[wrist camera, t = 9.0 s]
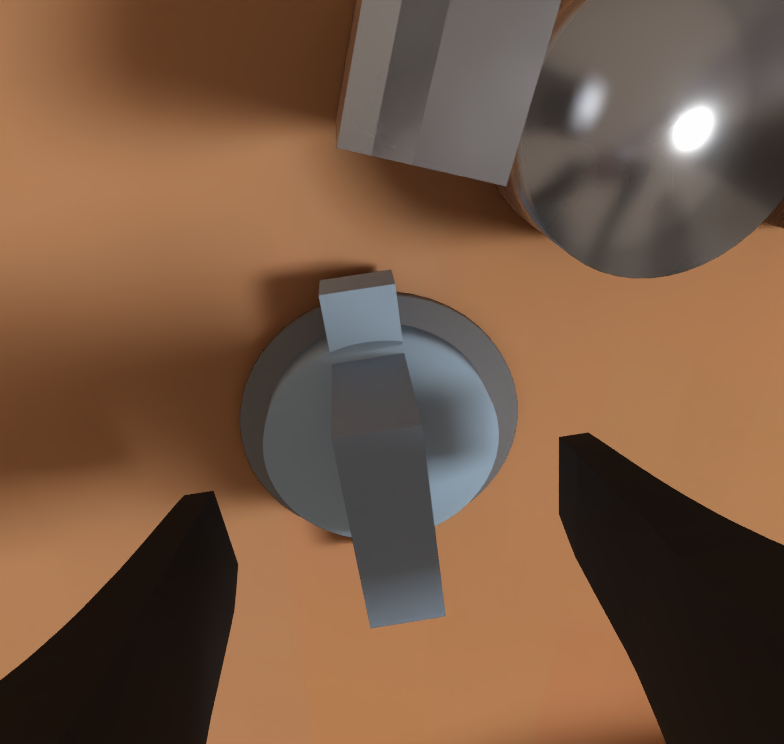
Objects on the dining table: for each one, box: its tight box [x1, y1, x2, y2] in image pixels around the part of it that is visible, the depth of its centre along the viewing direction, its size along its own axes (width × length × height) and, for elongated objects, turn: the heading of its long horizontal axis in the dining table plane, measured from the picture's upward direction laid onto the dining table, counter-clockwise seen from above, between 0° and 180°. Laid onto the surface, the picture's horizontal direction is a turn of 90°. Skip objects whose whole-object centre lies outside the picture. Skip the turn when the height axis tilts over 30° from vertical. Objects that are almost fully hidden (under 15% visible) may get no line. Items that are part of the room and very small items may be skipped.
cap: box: [263, 270, 499, 628], centre depth 13 cm, size 8×6×4 cm
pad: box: [240, 292, 518, 518], centre depth 15 cm, size 7×7×1 cm
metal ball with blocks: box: [336, 0, 784, 278], centre depth 10 cm, size 11×5×5 cm, turn 77°
